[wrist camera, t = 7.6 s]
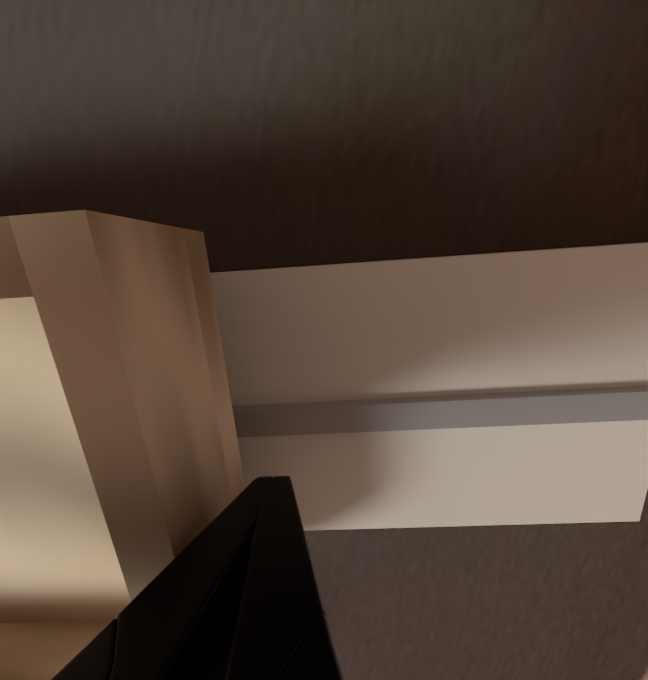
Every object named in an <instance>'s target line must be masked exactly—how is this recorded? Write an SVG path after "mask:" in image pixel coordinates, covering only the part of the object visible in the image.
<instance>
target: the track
mask: <svg viewBox="0 0 648 680" xmlns="http://www.w3.org/2000/svg"><path fill="white" fill-rule="evenodd" d="M210 275H211V281H212V287H213V293H214V299H215V305H216V312H217V318H218V324H219V330H220V336H221V342H222V348H223V354H224V360H225V366H226V373H227V379H228V385H229V391H230V397H231V403H232V409H233V415H234V421H235V427H236V434H237V440H238V446H239V452H240V458H241V464H242V470H243V476H244V482H245V488H246V487H247V486H248V485H249V484H250V483H251V482H252V481H253V480H254V479H255V478H257V477H265V476H272V477H275V476H290V478H291V481H292V485H293V489H294V493H295V497H296V501H297V505H298V509H299V512H300V516H301V520H302V524H303V528H304V530H340V529H376V528H411V527H447V526H483V525H519V524H555V523H590V522H626V521H639V520H640V516H641V513H642V509H643V505H644V501H645V497H646V493H647V489H648V242H643V243H629V244H614V245H600V246H586V247H572V248H557V249H543V250H529V251H514V252H500V253H486V254H471V255H457V256H443V257H428V258H414V259H400V260H385V261H371V262H357V263H342V264H328V265H314V266H299V267H285V268H271V269H257V270H242V271H228V272H214V273H210Z"/></svg>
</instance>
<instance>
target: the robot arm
mask: <svg viewBox="0 0 648 680" xmlns="http://www.w3.org/2000/svg"><path fill="white" fill-rule="evenodd" d="M50 680H344V679H343V676H342V673H341V669H340V666H339V662H338V659H337V655H336V652H335V648H334V645H333V641H332V637H331V633H330V629H329V625H328V621H327V618H326V617H325V610H324V607H323V603H322V599H321V595H320V591H319V587H318V583H317V579H316V575H315V571H314V567H313V563H312V560H311V556H310V552H309V548H308V544H307V540H306V536H305V532H304V528H303V524H302V520H301V516H300V512H299V509H298V505H297V501H296V497H295V493H294V489H293V485H292V481H291V478H290V476H275V477H272V476H265V477H257V478H255V479H254V480H253V481H252V482H251V483H250V484H249V485H248V486H247V487H246V488H245V489H244V490H243V491H242V492H241V493H240V494H239V495H238V496H237V497H236V498H235V499H234V500H233V501H232V502H231V503H230V504H229V505H228V506H227V507H226V508H225V509H224V510H223V511H222V512H221V513H220V514H219V515H218V516H217V517H216V518H215V519H214V520H213V521H212V522H211V523H210V524H209V525H208V526H207V527H206V528H205V529H204V530H203V531H202V532H201V533H200V534H198V535H197V536H196V537H195V538H194V539H193V540H192V541H191V542H190V543H189V544H188V545H187V546H186V547H185V548H184V549H183V550H182V551H181V552H180V553H179V554H178V555H177V556H176V557H175V558H174V559H173V560H172V561H171V562H170V563H169V564H168V565H167V566H166V567H165V568H164V569H163V570H162V571H161V572H160V573H159V574H158V575H157V576H156V577H155V578H154V579H153V580H152V581H151V582H150V583H149V584H148V585H147V586H146V587H145V588H144V589H143V590H142V591H141V592H140V593H139V594H138V595H137V596H136V597H135V598H134V599H133V600H132V601H131V602H130V603H129V604H128V605H127V606H126V607H125V608H124V609H123V610H122V611H121V612H120V613H119V614H118V616H117V619H112V620H111V621H110V622H109V623H108V624H107V625H106V626H105V627H104V628H103V629H102V630H101V631H100V632H99V633H98V634H97V635H96V636H95V637H94V638H93V639H92V640H91V641H90V642H89V643H88V644H87V645H86V646H85V647H84V648H83V649H82V650H81V651H80V652H79V653H78V654H77V655H75V656H74V657H73V658H72V659H71V660H70V661H69V662H68V663H67V664H66V665H65V666H64V667H63V668H62V669H61V670H60V671H59V672H58V673H57V674H56V675H55V676H54V677H53V678H51V679H50Z"/></svg>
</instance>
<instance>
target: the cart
mask: <svg viewBox="0 0 648 680" xmlns="http://www.w3.org/2000/svg"><path fill="white" fill-rule="evenodd" d="M244 489H245V482H244V476H243V470H242V464H241V458H240V452H239V446H238V440H237V434H236V427H235V421H234V415H233V409H232V403H231V397H230V391H229V385H228V379H227V373H226V366H225V360H224V354H223V348H222V342H221V336H220V330H219V324H218V318H217V312H216V305H215V299H214V293H213V287H212V281H211V275H210V269H209V263H208V257H207V251H206V244H205V238H204V232H200V231H195V230H190V229H184V228H179V227H174V226H168V225H163V224H158V223H153V222H147V221H142V220H137V219H131V218H126V217H121V216H116V215H110V214H105V213H100V212H94V211H89V210H75V211H63V212H51V213H39V214H26V215H14V216H2V217H0V680H50V679H51V678H53V677H54V676H55V675H56V674H57V673H58V672H59V671H60V670H61V669H62V668H63V667H64V666H65V665H66V664H67V663H68V662H69V661H70V660H71V659H72V658H73V657H74V656H75V655H77V654H78V653H79V652H80V651H81V650H82V649H83V648H84V647H85V646H86V645H87V644H88V643H89V642H90V641H91V640H92V639H93V638H94V637H95V636H96V635H97V634H98V633H99V632H100V631H101V630H102V629H103V628H104V627H105V626H106V625H107V624H108V623H109V622H110V621H111V620H112V619H117V616H118V614H119V613H120V612H121V611H122V610H123V609H124V608H125V607H126V606H127V605H128V604H129V603H130V602H131V601H132V600H133V599H134V598H135V597H136V596H137V595H138V594H139V593H140V592H141V591H142V590H143V589H144V588H145V587H146V586H147V585H148V584H149V583H150V582H151V581H152V580H153V579H154V578H155V577H156V576H157V575H158V574H159V573H160V572H161V571H162V570H163V569H164V568H165V567H166V566H167V565H168V564H169V563H170V562H171V561H172V560H173V559H174V558H175V557H176V556H177V555H178V554H179V553H180V552H181V551H182V550H183V549H184V548H185V547H186V546H187V545H188V544H189V543H190V542H191V541H192V540H193V539H194V538H195V537H196V536H197V535H198V534H200V533H201V532H202V531H203V530H204V529H205V528H206V527H207V526H208V525H209V524H210V523H211V522H212V521H213V520H214V519H215V518H216V517H217V516H218V515H219V514H220V513H221V512H222V511H223V510H224V509H225V508H226V507H227V506H228V505H229V504H230V503H231V502H232V501H233V500H234V499H235V498H236V497H237V496H238V495H239V494H240V493H241V492H242V491H243V490H244Z"/></svg>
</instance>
